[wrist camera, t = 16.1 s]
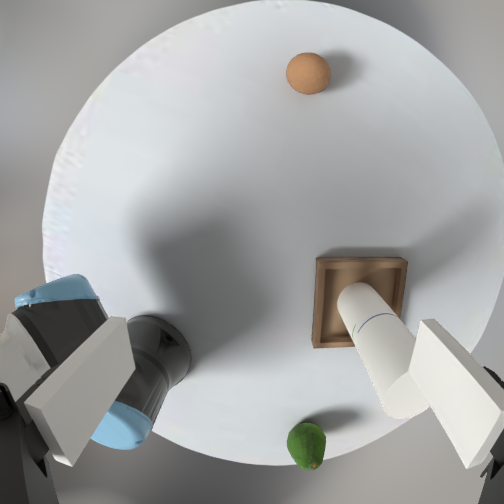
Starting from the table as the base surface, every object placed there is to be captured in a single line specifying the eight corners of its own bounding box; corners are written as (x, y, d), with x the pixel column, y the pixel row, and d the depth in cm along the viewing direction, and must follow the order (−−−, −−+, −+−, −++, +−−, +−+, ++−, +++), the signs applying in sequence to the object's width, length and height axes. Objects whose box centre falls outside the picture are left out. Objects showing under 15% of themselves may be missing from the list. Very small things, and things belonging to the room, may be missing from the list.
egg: (293, 104, 43) (297, 89, 35) (279, 69, 42) (281, 49, 34) (331, 94, 43) (342, 79, 35) (317, 60, 41) (325, 39, 33)
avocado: (317, 438, 58) (323, 478, 47) (283, 436, 59) (284, 477, 47) (327, 414, 56) (335, 455, 45) (290, 412, 57) (293, 455, 45)
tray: (311, 339, 52) (313, 348, 49) (316, 257, 49) (319, 262, 46) (389, 335, 51) (394, 343, 49) (400, 257, 48) (407, 261, 45)
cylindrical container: (384, 294, 49) (455, 377, 25) (360, 327, 50) (412, 424, 26) (353, 274, 48) (416, 355, 24) (329, 309, 50) (369, 408, 26)
